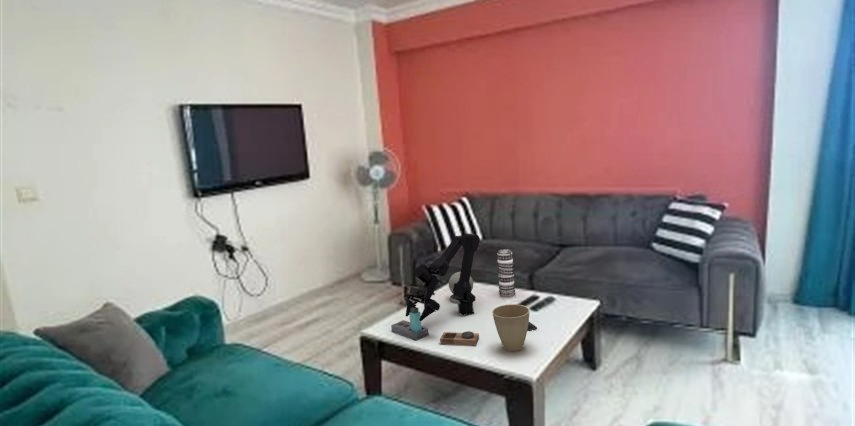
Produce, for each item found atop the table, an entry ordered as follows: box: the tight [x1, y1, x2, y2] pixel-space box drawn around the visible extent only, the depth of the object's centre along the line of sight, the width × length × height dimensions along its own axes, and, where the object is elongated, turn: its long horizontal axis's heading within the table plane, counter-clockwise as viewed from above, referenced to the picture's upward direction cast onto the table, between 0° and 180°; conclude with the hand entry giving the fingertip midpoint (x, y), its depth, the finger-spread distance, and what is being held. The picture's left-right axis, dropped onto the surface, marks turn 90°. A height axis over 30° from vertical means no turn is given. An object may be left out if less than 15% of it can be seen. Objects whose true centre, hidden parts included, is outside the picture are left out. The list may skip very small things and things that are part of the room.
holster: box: [439, 331, 480, 347], centre depth 217 cm, size 7×16×4 cm, turn 73°
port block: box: [390, 319, 430, 341], centre depth 231 cm, size 8×17×3 cm, turn 43°
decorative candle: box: [496, 248, 516, 300], centre depth 265 cm, size 9×9×25 cm
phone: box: [527, 321, 538, 332], centre depth 229 cm, size 8×1×15 cm
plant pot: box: [491, 304, 530, 352], centre depth 206 cm, size 15×15×16 cm
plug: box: [408, 306, 422, 333], centre depth 227 cm, size 4×4×13 cm
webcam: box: [448, 271, 474, 305], centre depth 268 cm, size 13×13×15 cm
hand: (413, 318), depth 226 cm, fingers open, 9 cm apart
